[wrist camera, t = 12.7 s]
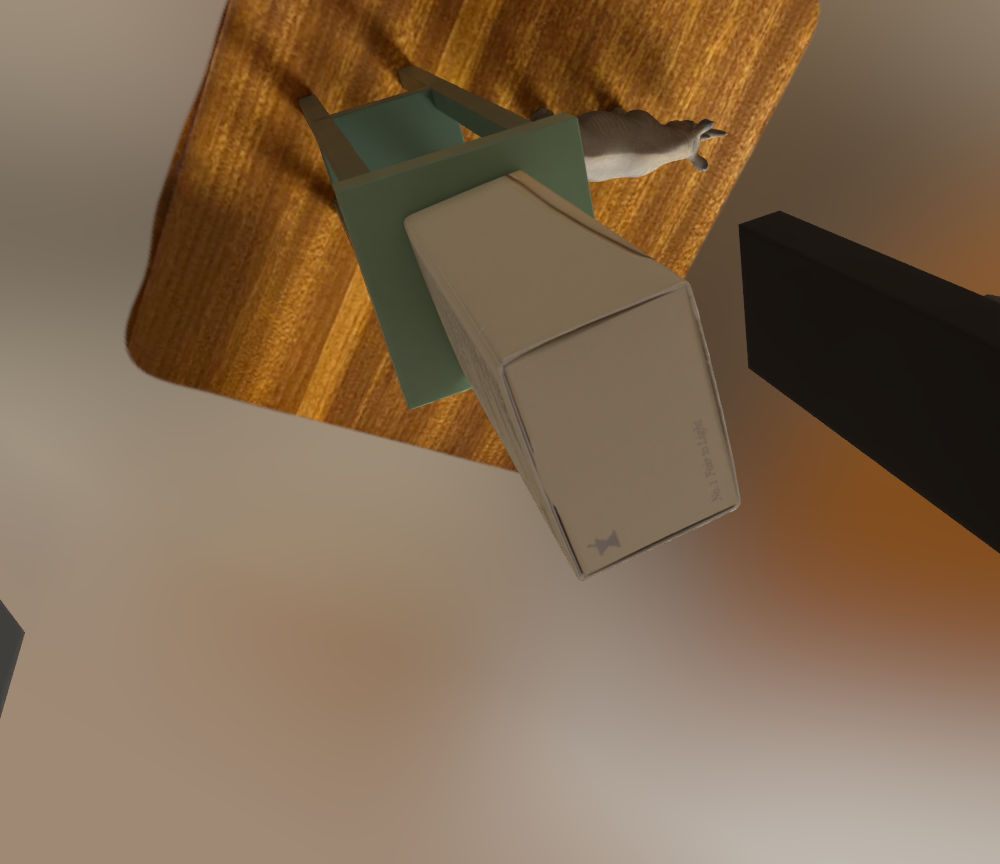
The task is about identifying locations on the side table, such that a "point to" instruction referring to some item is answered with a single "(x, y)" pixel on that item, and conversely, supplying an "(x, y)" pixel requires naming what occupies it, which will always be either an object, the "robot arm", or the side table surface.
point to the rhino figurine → (636, 142)
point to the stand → (401, 126)
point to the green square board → (420, 184)
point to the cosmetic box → (580, 367)
